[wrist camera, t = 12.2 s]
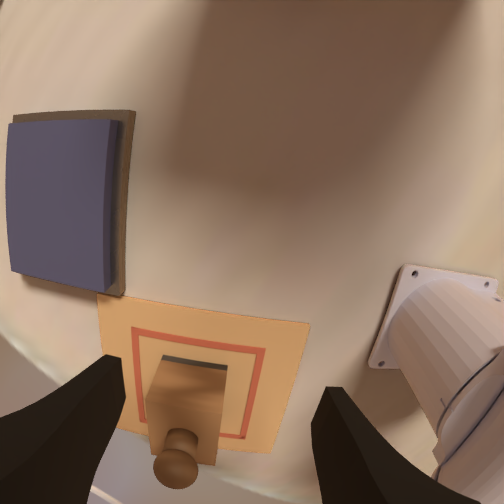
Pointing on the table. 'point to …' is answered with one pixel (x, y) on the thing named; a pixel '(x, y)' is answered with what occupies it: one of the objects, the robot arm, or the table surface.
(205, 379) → the stamp
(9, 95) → the table surface
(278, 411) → the card board
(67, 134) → the ink pad
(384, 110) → the table surface
